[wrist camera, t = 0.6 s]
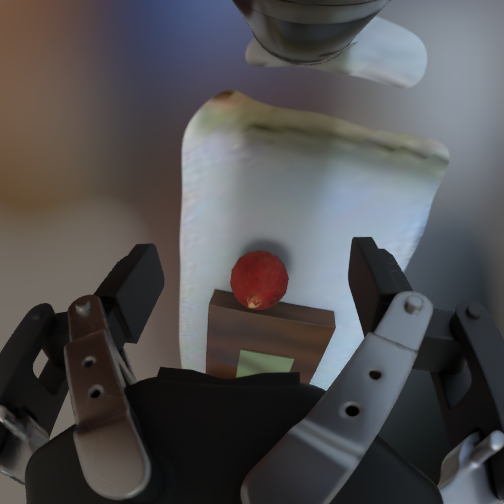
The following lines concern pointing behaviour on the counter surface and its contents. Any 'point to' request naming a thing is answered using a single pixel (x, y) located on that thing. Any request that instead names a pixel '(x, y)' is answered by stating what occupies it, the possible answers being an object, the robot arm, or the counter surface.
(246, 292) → the red pomegranate
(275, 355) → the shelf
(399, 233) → the counter surface
